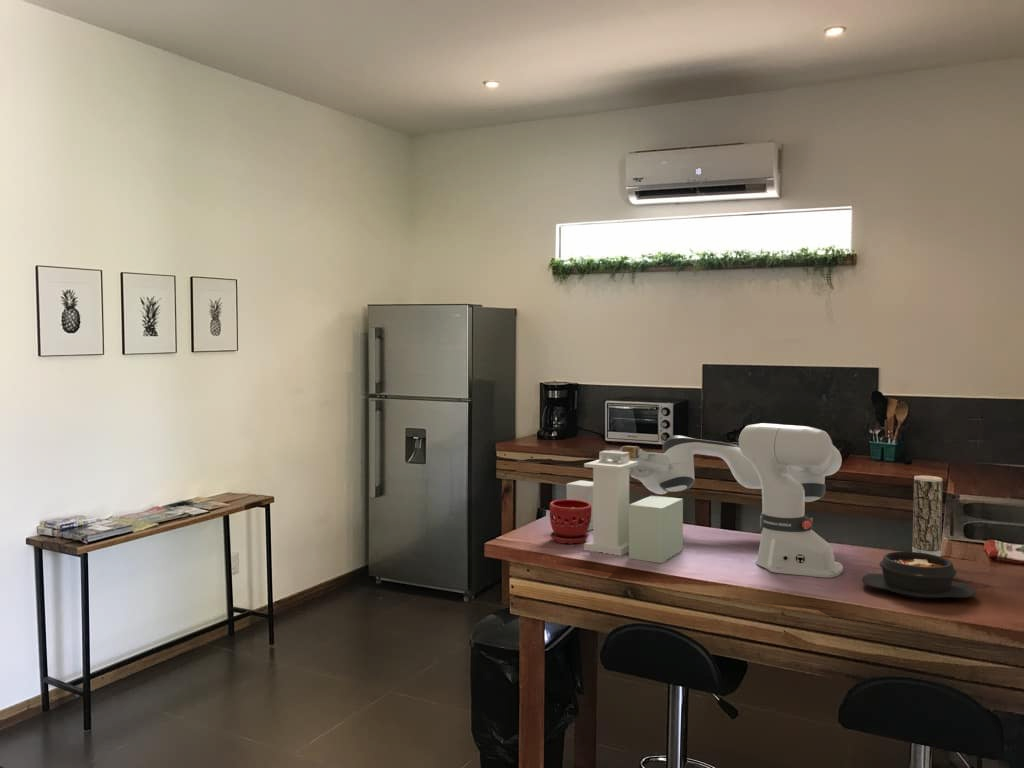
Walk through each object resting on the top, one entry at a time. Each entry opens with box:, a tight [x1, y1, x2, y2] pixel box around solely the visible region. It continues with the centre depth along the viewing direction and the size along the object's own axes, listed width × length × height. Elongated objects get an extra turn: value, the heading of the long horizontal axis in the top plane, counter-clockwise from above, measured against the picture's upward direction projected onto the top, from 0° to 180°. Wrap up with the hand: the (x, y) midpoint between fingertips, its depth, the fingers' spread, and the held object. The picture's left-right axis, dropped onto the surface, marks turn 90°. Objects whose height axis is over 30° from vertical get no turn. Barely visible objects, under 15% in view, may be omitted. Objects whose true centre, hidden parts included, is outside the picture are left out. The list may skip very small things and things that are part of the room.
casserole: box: [861, 551, 977, 600], centre depth 195 cm, size 25×19×8 cm
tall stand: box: [583, 449, 638, 557], centre depth 238 cm, size 12×12×29 cm
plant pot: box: [549, 499, 592, 545], centre depth 248 cm, size 13×13×12 cm
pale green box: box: [628, 495, 684, 564], centre depth 231 cm, size 10×16×16 cm, turn 147°
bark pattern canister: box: [912, 475, 943, 557], centre depth 214 cm, size 7×7×25 cm
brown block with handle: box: [612, 445, 640, 461], centre depth 245 cm, size 4×14×4 cm, turn 147°
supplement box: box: [565, 479, 593, 532], centre depth 267 cm, size 9×9×15 cm
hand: (630, 450), depth 249 cm, fingers closed on brown block with handle, 4 cm apart
